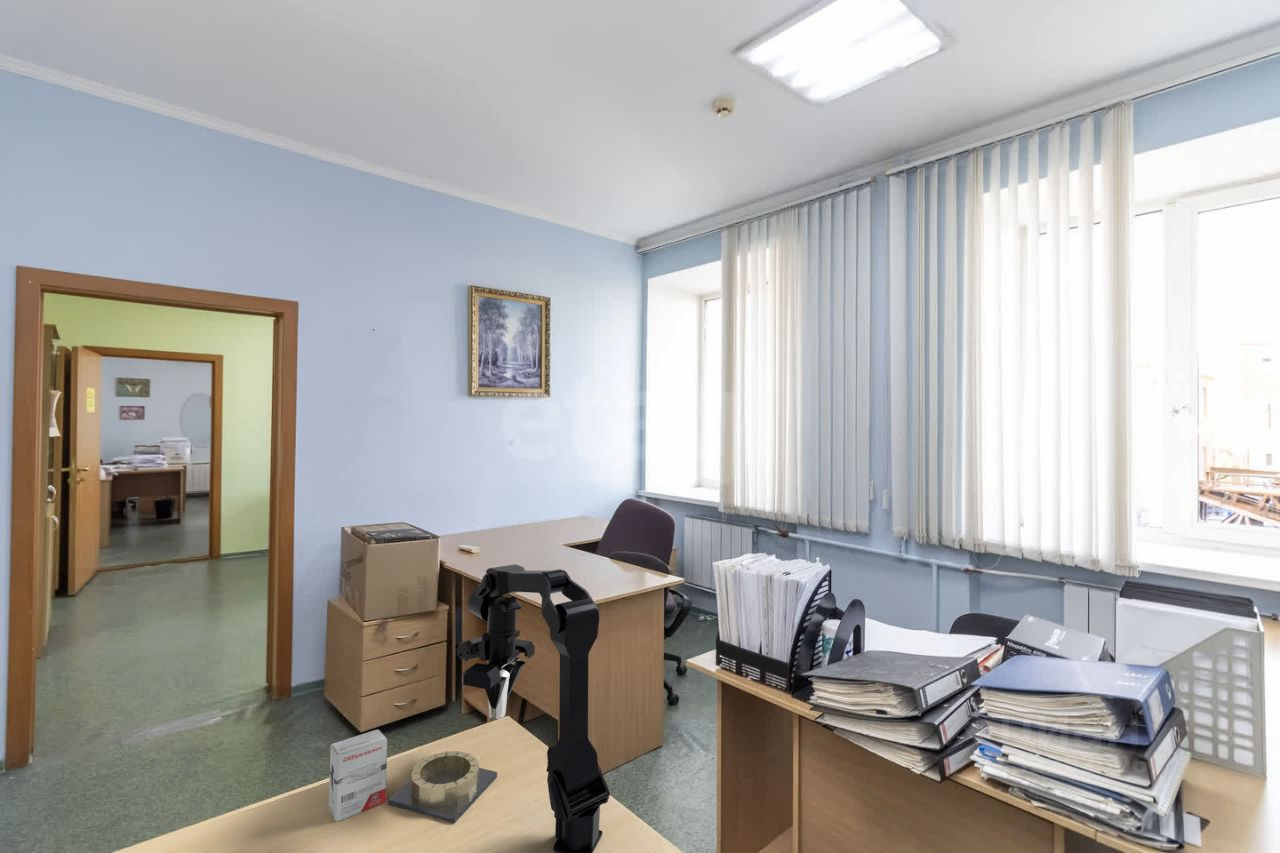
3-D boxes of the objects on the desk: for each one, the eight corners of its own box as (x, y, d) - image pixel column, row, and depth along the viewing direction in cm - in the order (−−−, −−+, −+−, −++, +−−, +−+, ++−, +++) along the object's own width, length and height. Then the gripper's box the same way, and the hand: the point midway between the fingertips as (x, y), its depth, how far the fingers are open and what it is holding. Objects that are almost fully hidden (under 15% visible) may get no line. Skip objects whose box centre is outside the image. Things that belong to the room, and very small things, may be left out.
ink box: (377, 789, 109) (379, 726, 109) (386, 802, 106) (388, 738, 106) (327, 808, 104) (329, 742, 104) (335, 823, 100) (337, 755, 100)
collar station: (497, 777, 114) (497, 756, 114) (454, 823, 101) (455, 800, 101) (436, 762, 119) (437, 742, 119) (388, 804, 105) (388, 782, 105)
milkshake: (506, 723, 116) (508, 673, 116) (481, 719, 117) (483, 669, 117) (515, 712, 121) (517, 664, 121) (492, 708, 122) (493, 661, 122)
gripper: (492, 609, 130) (489, 678, 130) (439, 637, 112) (437, 717, 112) (536, 615, 127) (534, 686, 127) (490, 645, 109) (487, 728, 109)
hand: (499, 703), depth 119 cm, fingers closed on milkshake, 4 cm apart
